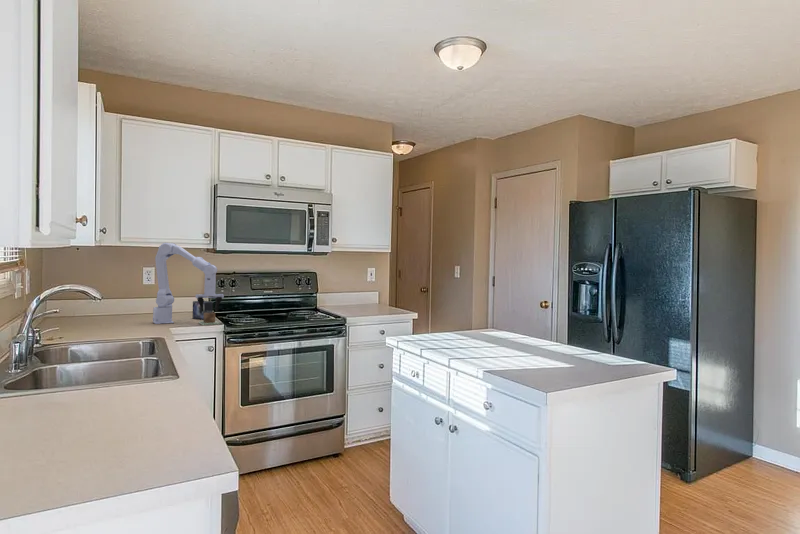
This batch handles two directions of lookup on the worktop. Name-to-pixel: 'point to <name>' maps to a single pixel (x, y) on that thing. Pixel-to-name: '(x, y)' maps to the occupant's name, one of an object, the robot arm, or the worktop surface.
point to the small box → (197, 310)
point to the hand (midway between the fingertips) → (209, 311)
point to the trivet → (208, 323)
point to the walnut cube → (209, 317)
